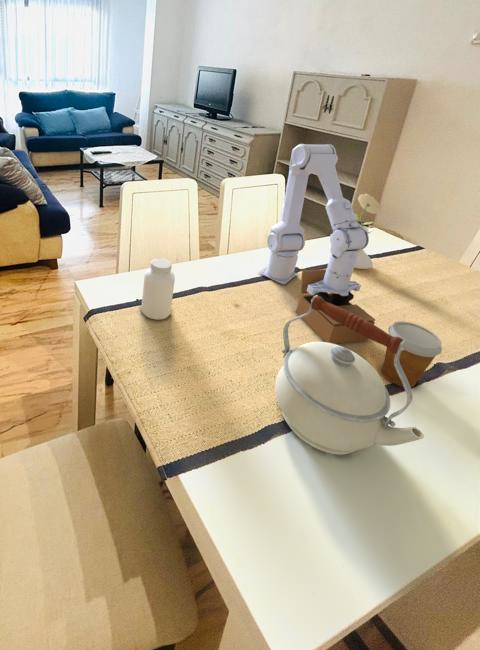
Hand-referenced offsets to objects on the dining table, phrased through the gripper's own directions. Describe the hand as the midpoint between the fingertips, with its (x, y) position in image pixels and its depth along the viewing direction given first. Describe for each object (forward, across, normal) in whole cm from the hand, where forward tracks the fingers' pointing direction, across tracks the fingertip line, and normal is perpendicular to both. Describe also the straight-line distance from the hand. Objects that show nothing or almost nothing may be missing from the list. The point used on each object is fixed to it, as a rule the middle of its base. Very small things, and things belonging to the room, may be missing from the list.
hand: (325, 313), depth 104 cm
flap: (-7, 0, +5) cm, 9 cm away
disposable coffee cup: (+2, +3, -21) cm, 21 cm away
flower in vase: (+2, +32, +27) cm, 42 cm away
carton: (+2, 0, -2) cm, 3 cm away
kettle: (+2, -22, -29) cm, 37 cm away
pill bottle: (+2, -45, +10) cm, 46 cm away
